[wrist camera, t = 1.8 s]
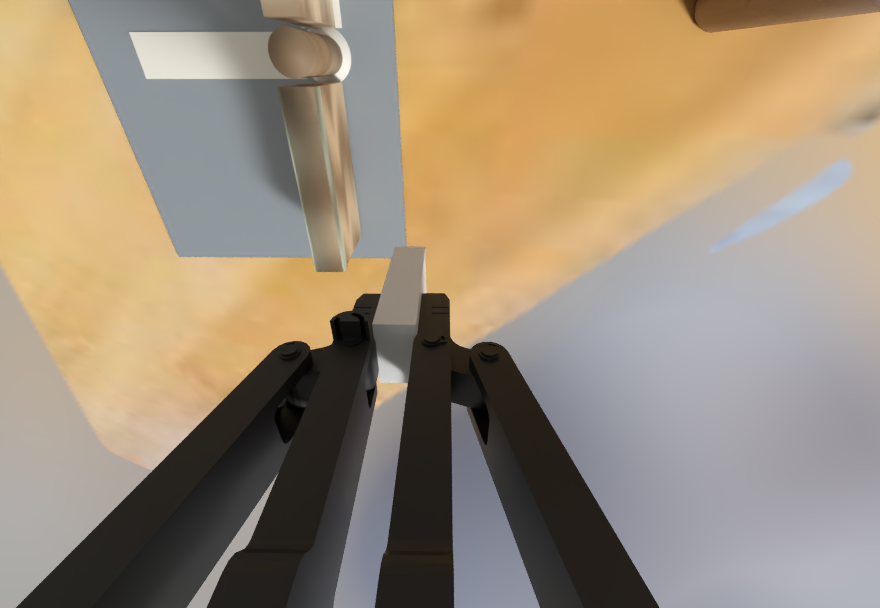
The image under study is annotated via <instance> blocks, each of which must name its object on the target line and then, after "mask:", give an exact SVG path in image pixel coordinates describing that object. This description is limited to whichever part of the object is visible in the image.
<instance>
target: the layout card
mask: <svg viewBox="0 0 880 608" xmlns="http://www.w3.org/2000/svg"><path fill="white" fill-rule="evenodd" d="M68 1H69V3H70V5H71V8H72V10H73V12H74V15H75V17H76V19H77V22H78V24H79V26H80V29H81V31H82V33H83V36H84V38H85V40H86V42H87V45H88V47H89V49H90V52H91V54H92V56H93V59H94V61H95V63H96V66H97V68H98V70H99V73H100V75H101V77H102V80H103V82H104V84H105V87H106V89H107V91H108V94H109V96H110V98H111V101H112V103H113V105H114V108H115V110H116V112H117V115H118V117H119V119H120V122H121V124H122V126H123V128H124V131H125V133H126V135H127V138H128V140H129V142H130V145H131V147H132V149H133V152H134V154H135V156H136V159H137V161H138V163H139V166H140V168H141V170H142V173H143V175H144V177H145V180H146V182H147V184H148V187H149V189H150V191H151V194H152V196H153V198H154V201H155V203H156V205H157V207H158V210H159V212H160V214H161V217H162V219H163V221H164V224H165V226H166V228H167V231H168V233H169V235H170V238H171V240H172V242H173V245H174V247H175V249H176V252H177V254H178V256H179V257H288V258H313V257H312V252H311V248H310V243H309V238H308V233H307V229H306V224H305V219H304V214H303V210H302V205H301V200H300V195H299V191H298V186H297V181H296V176H295V172H294V167H293V162H292V157H291V153H290V148H289V143H288V138H287V134H286V129H285V124H284V119H283V115H282V110H281V105H280V100H279V96H278V91H277V87H280V86H290V85H298V84H305V83H313V82H342V84H343V92H344V100H345V108H346V116H347V124H348V132H349V140H350V148H351V156H352V164H353V172H354V180H355V188H356V196H357V204H358V212H359V220H360V228H361V238H360V240H359V242H358V244H357V246H356V248H355V250H354V252H353V254H352V256H351V258H392V255H393V252H394V248H395V247H407V246H406V228H405V210H404V192H403V173H402V155H401V137H400V118H399V100H398V82H397V63H396V45H395V27H394V9H393V0H332V5H333V13H334V21H335V28H305V27H301V26H298V25H294V24H290V23H286V22H283V21H279V20H275V19H271V18H267V17H264V15H263V11H262V6H261V1H260V0H68ZM282 26H288V27H293V28H297V29H301V30H305V31H309V32H313V33H317V34H321V35H326V36H329V37H331V38H332V39H334V40H335V41H336V42H337V44H338V45H339V47H340V49H341V52H342V57H343V60H342V66H341V68H340V70H339V71H338V72H337V73H336V74H334V75H331V76H320V77H309V78H298V79H292V78H288V77H286V76H284V75H282V74H281V73H280V72H279V71H278V70H277V69H276V68H275V67H274V65H273V64H272V62H271V60H270V57H269V53H268V41H269V37H270V35H271V34H272V32H273V31H274V30H275V29H277V28H279V27H282Z"/></svg>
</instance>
